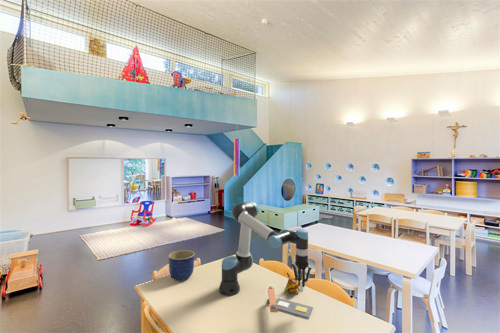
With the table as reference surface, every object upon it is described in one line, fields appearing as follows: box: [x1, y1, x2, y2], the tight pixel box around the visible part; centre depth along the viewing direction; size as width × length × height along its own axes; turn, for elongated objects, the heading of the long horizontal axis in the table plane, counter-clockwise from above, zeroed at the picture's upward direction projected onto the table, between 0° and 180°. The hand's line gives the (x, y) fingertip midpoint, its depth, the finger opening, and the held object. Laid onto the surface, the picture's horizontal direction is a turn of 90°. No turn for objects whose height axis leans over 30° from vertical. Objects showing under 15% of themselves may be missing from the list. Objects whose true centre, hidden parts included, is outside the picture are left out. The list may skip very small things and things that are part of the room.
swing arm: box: [267, 286, 278, 313], centre depth 155 cm, size 26×4×10 cm, turn 179°
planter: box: [168, 249, 196, 282], centre depth 202 cm, size 21×21×19 cm
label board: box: [276, 297, 314, 319], centre depth 161 cm, size 24×12×1 cm, turn 64°
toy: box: [284, 272, 300, 295], centre depth 183 cm, size 14×10×15 cm
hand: (301, 291), depth 158 cm, fingers closed
